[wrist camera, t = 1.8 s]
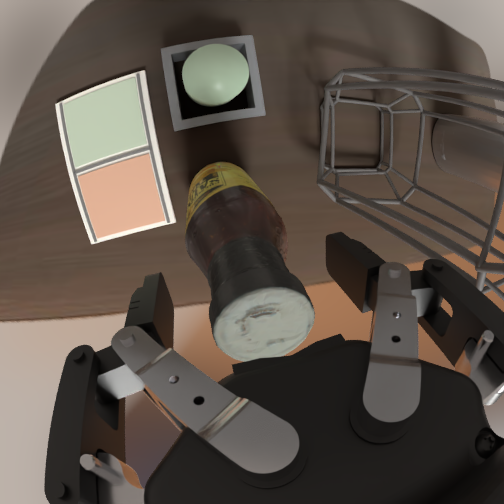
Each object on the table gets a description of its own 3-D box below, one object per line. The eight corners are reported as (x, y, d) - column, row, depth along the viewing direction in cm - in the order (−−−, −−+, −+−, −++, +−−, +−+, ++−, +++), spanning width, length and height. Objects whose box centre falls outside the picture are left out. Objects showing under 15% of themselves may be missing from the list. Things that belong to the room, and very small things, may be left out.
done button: (236, 53, 19) (244, 40, 16) (244, 102, 22) (253, 97, 18) (180, 61, 19) (178, 50, 15) (188, 111, 21) (187, 108, 18)
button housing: (245, 44, 21) (252, 34, 18) (257, 116, 24) (265, 115, 22) (164, 57, 20) (160, 48, 17) (176, 131, 24) (174, 131, 21)
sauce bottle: (201, 151, 25) (217, 210, 7) (259, 172, 27) (376, 264, 10) (180, 212, 27) (166, 366, 10) (236, 228, 29) (299, 380, 12)
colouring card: (145, 71, 20) (144, 69, 19) (176, 220, 27) (175, 223, 27) (57, 104, 19) (54, 104, 18) (93, 242, 26) (91, 245, 26)
